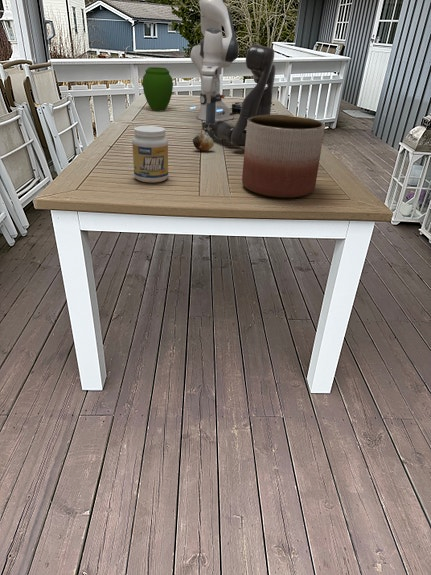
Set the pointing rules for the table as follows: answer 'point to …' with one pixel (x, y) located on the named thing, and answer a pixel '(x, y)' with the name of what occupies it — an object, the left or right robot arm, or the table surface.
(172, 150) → the table surface
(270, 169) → the planter
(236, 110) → the sign
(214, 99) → the lid
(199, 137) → the seashell
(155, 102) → the vase
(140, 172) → the supplement tub
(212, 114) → the dark gray cylinder
